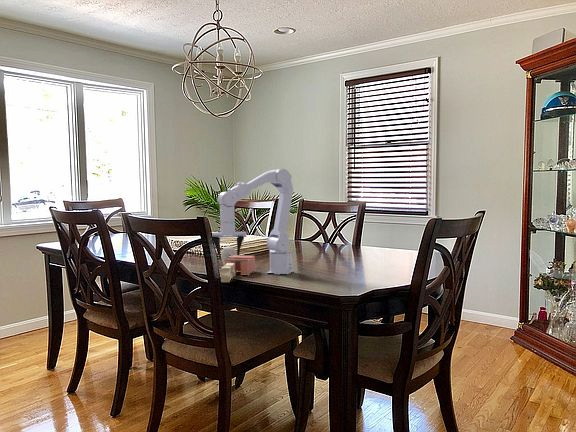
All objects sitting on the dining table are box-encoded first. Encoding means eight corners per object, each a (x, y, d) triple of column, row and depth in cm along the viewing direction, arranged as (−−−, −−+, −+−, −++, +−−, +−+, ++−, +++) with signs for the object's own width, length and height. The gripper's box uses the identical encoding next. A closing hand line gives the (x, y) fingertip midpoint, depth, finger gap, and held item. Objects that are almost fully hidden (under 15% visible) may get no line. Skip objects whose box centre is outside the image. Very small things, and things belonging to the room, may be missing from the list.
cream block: (227, 275, 203) (227, 262, 202) (235, 275, 202) (235, 262, 202) (221, 282, 191) (220, 268, 190) (229, 282, 190) (228, 268, 190)
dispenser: (233, 270, 214) (233, 255, 213) (255, 271, 211) (254, 255, 211) (225, 275, 204) (224, 259, 203) (247, 276, 201) (247, 259, 201)
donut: (239, 268, 218) (239, 246, 217) (233, 269, 216) (233, 247, 215) (225, 266, 225) (225, 244, 224) (219, 267, 223) (219, 245, 222)
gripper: (246, 220, 198) (247, 253, 199) (211, 221, 198) (212, 254, 199) (245, 221, 191) (246, 256, 192) (208, 222, 191) (209, 257, 192)
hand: (228, 255), depth 195 cm, fingers open, 7 cm apart
